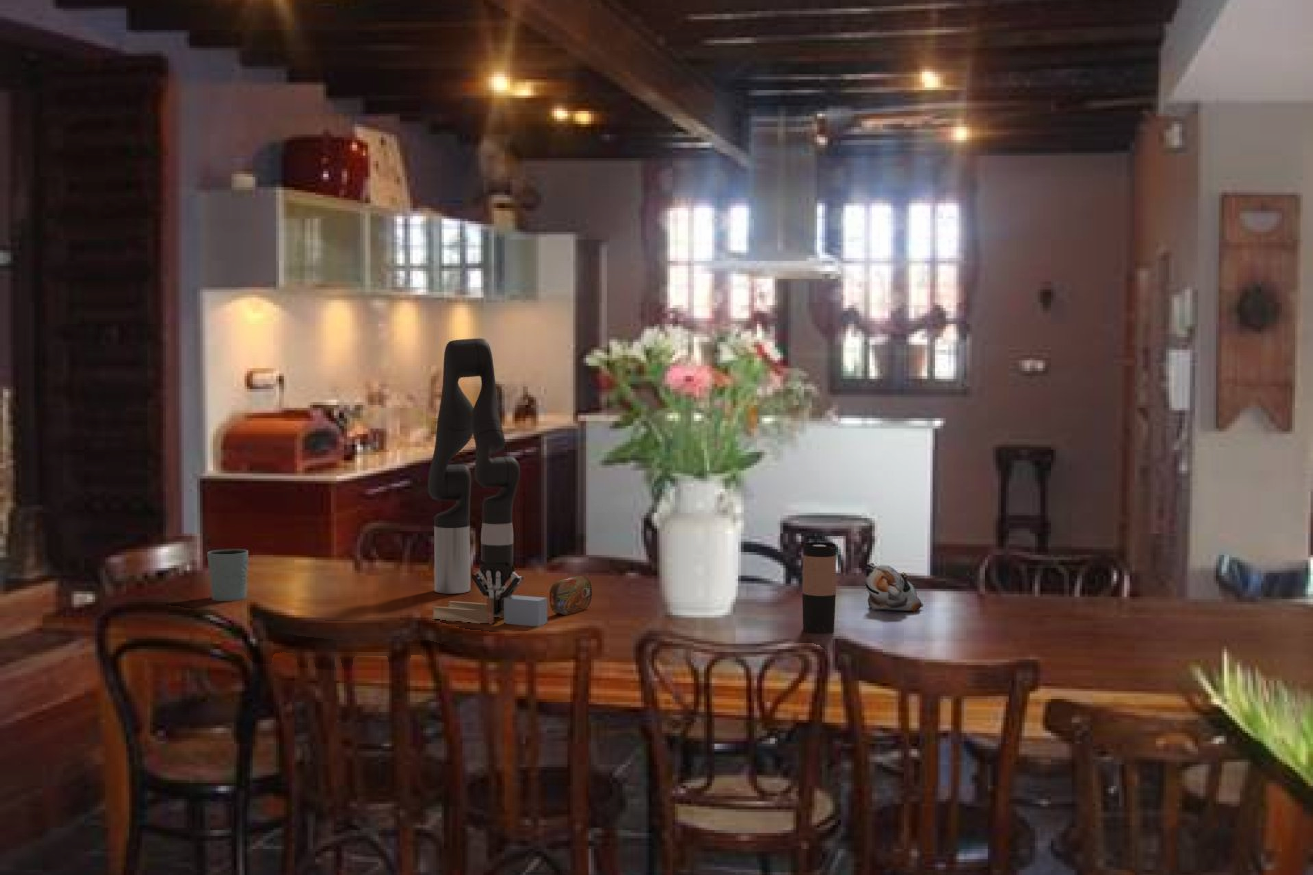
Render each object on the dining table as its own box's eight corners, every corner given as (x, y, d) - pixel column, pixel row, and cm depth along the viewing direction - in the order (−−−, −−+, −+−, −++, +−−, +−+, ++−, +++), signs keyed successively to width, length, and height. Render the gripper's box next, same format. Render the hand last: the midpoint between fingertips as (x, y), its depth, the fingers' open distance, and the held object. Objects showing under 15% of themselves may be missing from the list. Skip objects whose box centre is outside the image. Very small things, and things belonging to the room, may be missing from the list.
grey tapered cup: (237, 602, 384) (236, 554, 383) (200, 600, 386) (199, 553, 385) (255, 595, 394) (255, 549, 393) (219, 593, 396) (218, 547, 395)
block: (513, 620, 363) (513, 594, 363) (547, 623, 360) (547, 597, 359) (504, 623, 359) (504, 598, 359) (538, 626, 356) (538, 600, 355)
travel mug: (799, 627, 357) (800, 541, 355) (831, 626, 357) (832, 541, 356) (805, 633, 349) (806, 546, 348) (838, 633, 350) (839, 546, 348)
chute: (451, 613, 371) (451, 588, 371) (508, 617, 366) (508, 592, 366) (433, 619, 363) (433, 594, 363) (491, 624, 358) (491, 598, 357)
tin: (557, 617, 367) (557, 582, 367) (546, 616, 369) (546, 581, 368) (593, 607, 380) (593, 574, 379) (582, 606, 382) (582, 573, 381)
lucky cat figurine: (931, 611, 377) (920, 566, 370) (889, 632, 374) (877, 587, 368) (901, 584, 390) (890, 540, 383) (860, 605, 387) (848, 560, 381)
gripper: (529, 541, 362) (529, 613, 363) (479, 537, 366) (479, 609, 368) (515, 545, 355) (515, 619, 356) (464, 541, 359) (464, 614, 361)
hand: (496, 614), depth 362 cm, fingers closed
